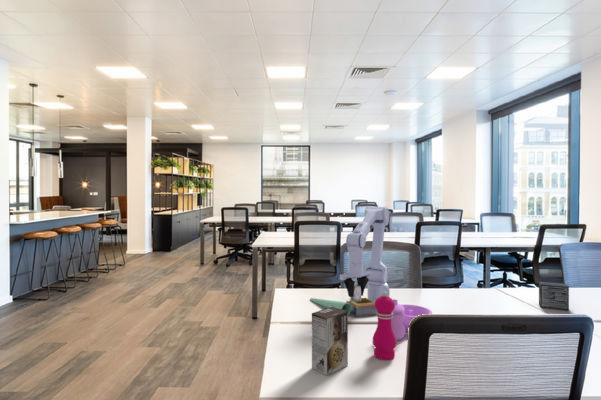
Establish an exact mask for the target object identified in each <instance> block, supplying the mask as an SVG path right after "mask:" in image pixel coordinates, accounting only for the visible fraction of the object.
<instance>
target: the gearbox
mask: <svg viewBox="0 0 601 400" xmlns="http://www.w3.org/2000/svg"><path fill="white" fill-rule="evenodd" d="M345 302H346V303H349V304H350V305H351V312H350V314H351V315H353V316H354V317H355V318H357V317H368V316H376V315H377V313H376V312H377V309H376V308H375V303H374V302H373V301H371V300H369V299H368V297H361V301H358V302H355V301H351V300H350V298H349V299H348V300H346V301H345Z"/></svg>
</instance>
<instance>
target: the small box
mask: <svg viewBox="0 0 601 400" xmlns="http://www.w3.org/2000/svg"><path fill="white" fill-rule="evenodd" d="M569 291H570V286H569V285H568V284H567V283H557V282H546V281H545V282H544V281H538V305H539V308H541V309H550V310H559V311H560V310H561V311H570V305H569V304H570V292H569Z"/></svg>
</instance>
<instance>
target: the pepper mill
mask: <svg viewBox="0 0 601 400" xmlns="http://www.w3.org/2000/svg"><path fill="white" fill-rule="evenodd" d="M375 308H376V309H377V312H376V313H377V315H375V317H376V318H377V326H376V329H375V331H374V333H373V336H372V344H373V346H374V347H375V348H374V349H373V355H374V357H375V358H377V359H379V360H383V361H391V360H393V359H394V358H395V356H396V355H395V354H396V352H395V348H396V347H397V340H396V338H395V335H394V333H393V330H392V326H391V319H392V318H393V313H392V311H393V310H394V308H395V304H394V301H393V300H392V297H391V296H389V297H388V294H387V292H385V291H384V292H382V296H380V297H378V298H377V299H376V301H375Z"/></svg>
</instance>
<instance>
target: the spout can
mask: <svg viewBox="0 0 601 400" xmlns="http://www.w3.org/2000/svg"><path fill="white" fill-rule="evenodd" d="M361 298H362V296H361V285H360V284H358V283H354V288H353V297H349V299H350V300H351V301H355V302H358V301H361Z"/></svg>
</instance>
